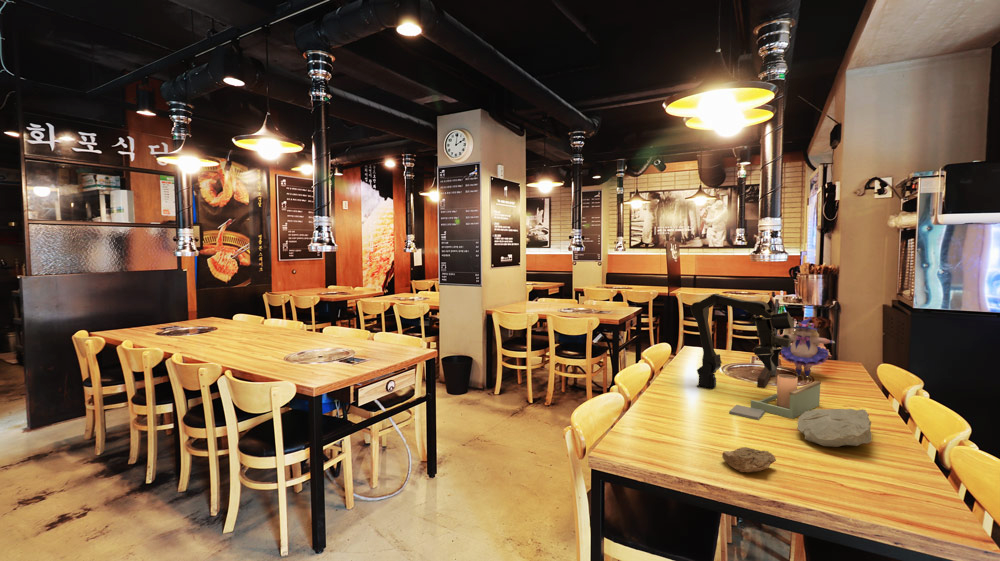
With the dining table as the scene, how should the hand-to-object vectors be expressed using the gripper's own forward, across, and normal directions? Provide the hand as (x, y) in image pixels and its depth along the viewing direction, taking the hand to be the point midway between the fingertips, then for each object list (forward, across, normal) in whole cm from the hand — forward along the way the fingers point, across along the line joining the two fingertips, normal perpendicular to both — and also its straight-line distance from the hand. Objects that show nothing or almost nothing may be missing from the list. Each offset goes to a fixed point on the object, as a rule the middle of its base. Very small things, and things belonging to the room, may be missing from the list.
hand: (773, 368), depth 191 cm
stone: (+20, -27, -21) cm, 40 cm away
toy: (+13, +52, +4) cm, 54 cm away
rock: (+17, -72, -9) cm, 75 cm away
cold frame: (+15, -5, -3) cm, 16 cm away
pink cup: (+15, -5, -3) cm, 16 cm away
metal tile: (+13, -24, +6) cm, 28 cm away
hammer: (+11, +31, +14) cm, 36 cm away
